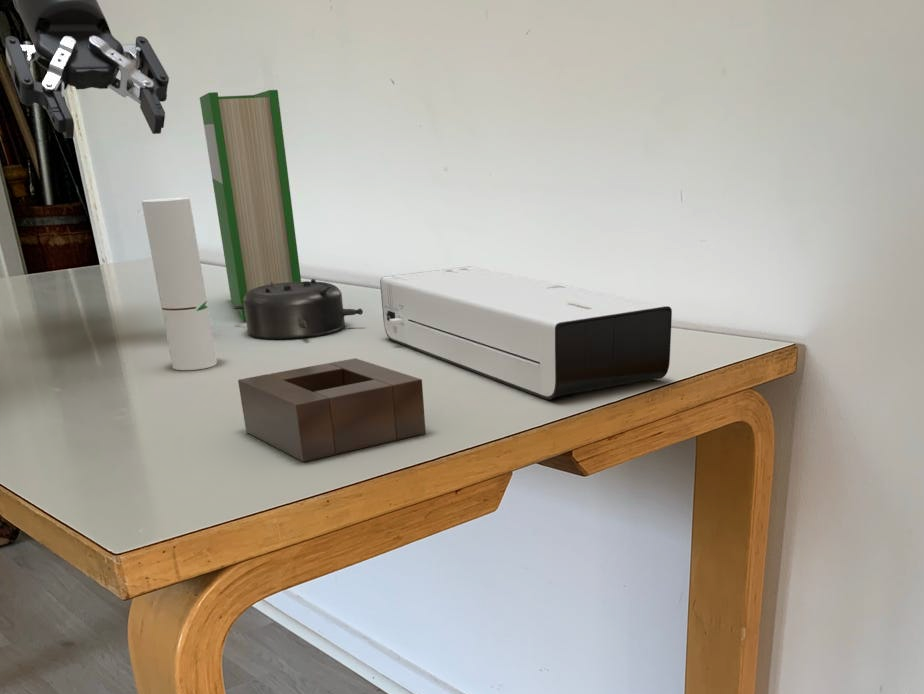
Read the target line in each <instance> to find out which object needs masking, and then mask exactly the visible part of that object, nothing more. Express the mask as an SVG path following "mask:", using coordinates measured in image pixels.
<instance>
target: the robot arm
mask: <svg viewBox="0 0 924 694" xmlns="http://www.w3.org/2000/svg"><path fill="white" fill-rule="evenodd" d="M12 2H13V5H14V9H15V11H17V13H18V14H19V16H20V18H21V21H22V23H23V25H24V27H25V29H26V32H27V33H28V35H29V38H30V41H31V42H32V44H21V42H20V40H19V38H18V37H16V36H12V35H8V36H6V37H5V41H4V43H5V63H6V65H7V68H8V71H9V73H10V76H11V79H12V81H13V85H14V87H15V90H16V92H17V95H18V98H19V101H20V103H21V104H22V105H24V106H27V107H31V106H33V105H34V104H38V105H40V106H42V108H43V109H45V110H46V112H47V115H48V117H49V119H50V121H51V123H52V126H53V128H54V130H55V131H56V132H58V133H62V134H63V137H64V139H73V138H75V137H74V136H75V132H74V131H75V122H74V119H73V116H72V114H71V112H70V110H69V107H68V105H67V102H66V100H65V98H64V97H65V95H66V93H67V92H68V89H69V88H70V86H71V87H74V88H75V90H86V89H90V88H92V89H99V90H103V89H110V90H112V91H113V92H115V93H116V94H118V95H119V96H121V97H123V98H126V97H129V98H130V99H132V100H133V101H135V102H136V103H138V104H139V108H140V111H141V112H142V115H143V116H144V119H145V121H146V123H147V125H148V127H149V130H150V132H151V133H152V135H159V134H161V133H162V129H163V128H164V127H165V120H166V119H165V118H166V111H165V109H164V107H163V105H162V103H163V102H165V101H167V98H168V88H169V87H168V86H169V81H170V77H169V74H168V73H167V71H166V70H165V67H164V66H163V65H162V62H161V61H160V59H159V57H158V56H157V54H156V52H155V50H154V49H153V47H152V45H151V43H150V41H149V40H148V39H147V38H146V37H145V36H143V35H138V36H137V37H136V38H135V43H125V44H121V43H122V42H120V41H119V40H118V39H117V38H115V37H114V35H112V32H111V29H110V26H109V23H108V21H107V19H106V16H105V15H104V13H103V11H102V8H101V7H100V4H99V3H98V0H12ZM34 61H36V63H37V65H39V66H40V67H41V68H43V69H44V70H46V71H47V72H46V74H45V75H44V78H43V79H42V82H40V81H36V80H34V77H33V75H32V72H31V68H32V63H33V62H34ZM119 72H120V79H119V78H118V77H117V76H118V74H119ZM136 85H137V86H138V87H137V86H136ZM161 102H162V103H161Z"/></svg>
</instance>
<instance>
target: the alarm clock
mask: <svg viewBox="0 0 924 694" xmlns="http://www.w3.org/2000/svg"><path fill="white" fill-rule="evenodd" d="M243 303H244V305H241V306H234V305H233V306H232V310H237V309H244V310H245V317H246V322H245V323H246V332H247V334H248V335H250V336H251V337H254V338H259V339H268V340H289V339H290V340H291V339H302V338H303V339H305V338H312V337H319V336H325V335H328V334H333V333H336V332H338V331H340V330H343V328H344V327H345V326H346V321H345V316H355V315H363V313H364V310H363V309H362V308H358V309H354V308H344V301H343V293H342V292H341V290H340V288H339V287H337V286H336V285H334V284H333V283H329V282H325V281H324V282H322V281H316V279H315V278H312V279H310V281H308V280H306V281H301V282H287V283H277V284H273V282H271V285H265V286H261V287H257V288H254V289H252V290H250V291H249V292H247V294H246V295H245V296H244V299H243Z"/></svg>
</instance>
